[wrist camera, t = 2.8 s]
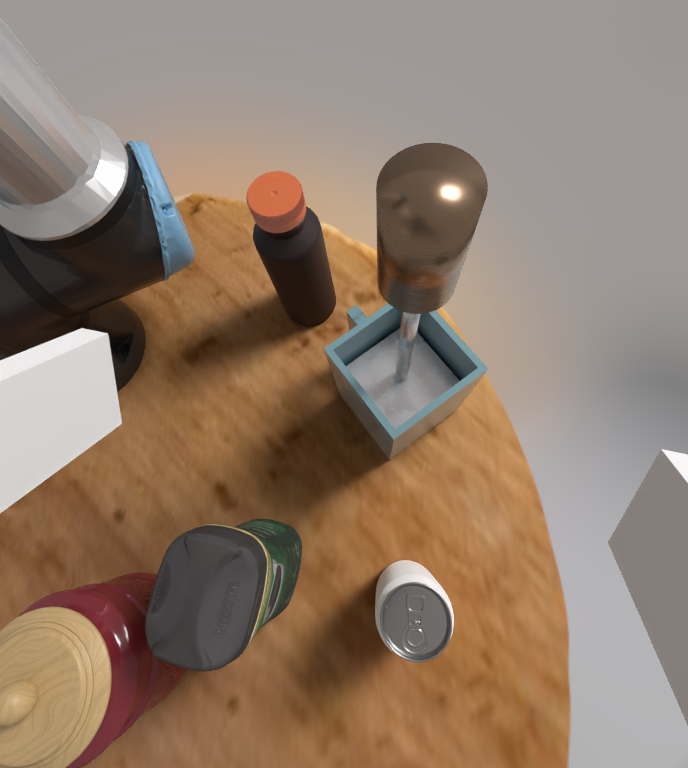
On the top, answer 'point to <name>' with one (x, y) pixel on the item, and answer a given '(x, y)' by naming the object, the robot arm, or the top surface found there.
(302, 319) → the vinegar
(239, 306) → the top surface
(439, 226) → the plunger
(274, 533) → the coffee jar
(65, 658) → the canister
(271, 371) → the top surface
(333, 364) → the light blue square cup
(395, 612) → the can
